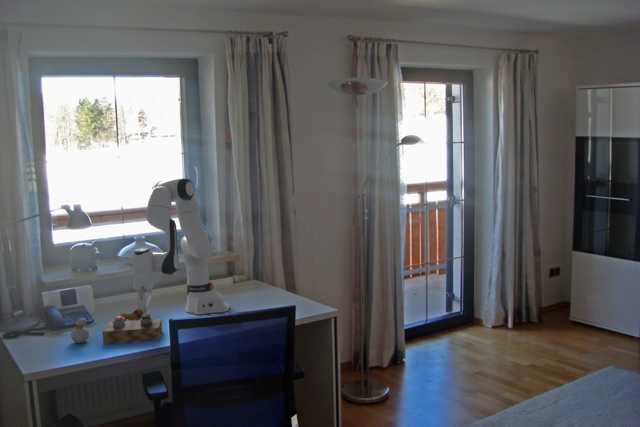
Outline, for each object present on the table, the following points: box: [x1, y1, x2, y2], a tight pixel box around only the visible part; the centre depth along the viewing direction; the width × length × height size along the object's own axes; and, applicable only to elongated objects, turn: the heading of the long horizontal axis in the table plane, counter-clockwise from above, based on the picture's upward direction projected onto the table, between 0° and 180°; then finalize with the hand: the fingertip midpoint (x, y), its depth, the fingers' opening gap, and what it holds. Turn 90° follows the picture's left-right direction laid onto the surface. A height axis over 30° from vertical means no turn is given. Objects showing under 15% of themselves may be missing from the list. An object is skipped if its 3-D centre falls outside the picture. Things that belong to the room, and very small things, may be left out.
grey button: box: [140, 313, 153, 326], centre depth 300 cm, size 4×4×6 cm
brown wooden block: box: [102, 318, 163, 346], centre depth 299 cm, size 24×14×6 cm, turn 98°
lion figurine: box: [119, 308, 143, 321], centre depth 318 cm, size 15×5×9 cm, turn 117°
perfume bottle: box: [70, 316, 90, 344], centre depth 294 cm, size 8×10×12 cm
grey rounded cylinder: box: [112, 315, 125, 328], centre depth 298 cm, size 4×4×6 cm
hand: (145, 314), depth 299 cm, fingers closed
